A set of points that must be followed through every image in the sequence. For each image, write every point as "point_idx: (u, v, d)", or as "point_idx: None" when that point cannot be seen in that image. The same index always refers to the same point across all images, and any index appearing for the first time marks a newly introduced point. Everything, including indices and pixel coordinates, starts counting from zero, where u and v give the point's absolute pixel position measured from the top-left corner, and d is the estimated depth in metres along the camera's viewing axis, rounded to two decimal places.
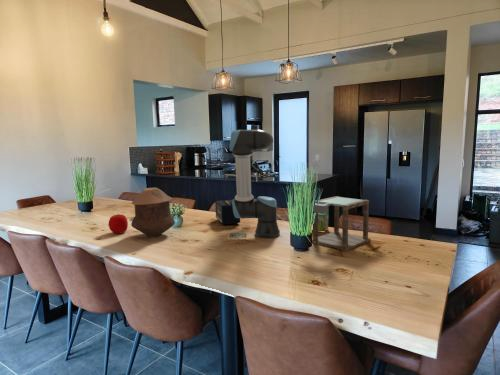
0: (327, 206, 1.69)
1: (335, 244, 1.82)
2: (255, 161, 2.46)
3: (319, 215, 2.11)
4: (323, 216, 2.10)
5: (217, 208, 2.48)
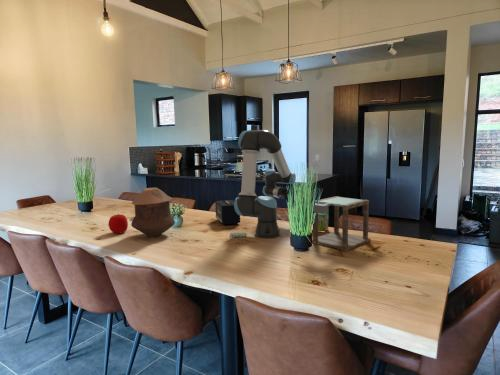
0: (327, 206, 1.69)
1: (335, 244, 1.82)
2: None
3: (319, 215, 2.11)
4: (323, 216, 2.10)
5: (217, 208, 2.48)
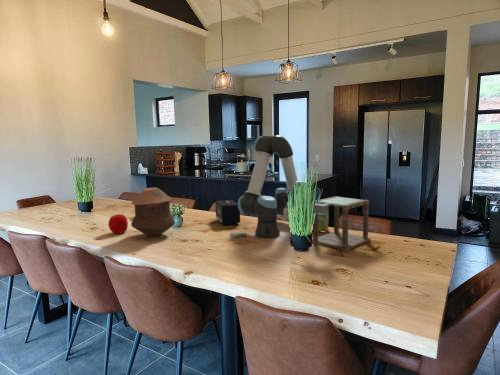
0: (327, 206, 1.69)
1: (335, 244, 1.82)
2: None
3: (319, 215, 2.11)
4: (323, 216, 2.10)
5: (217, 208, 2.48)
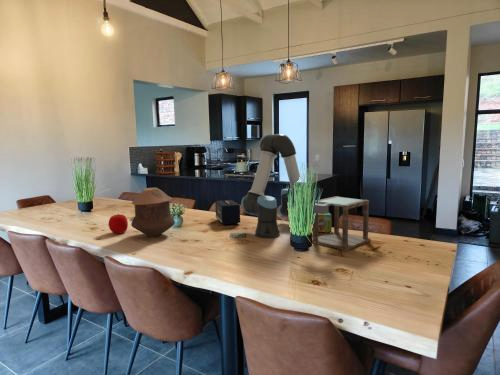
0: (327, 206, 1.69)
1: (335, 244, 1.82)
2: None
3: (326, 216, 2.09)
4: (330, 216, 2.09)
5: (217, 208, 2.47)
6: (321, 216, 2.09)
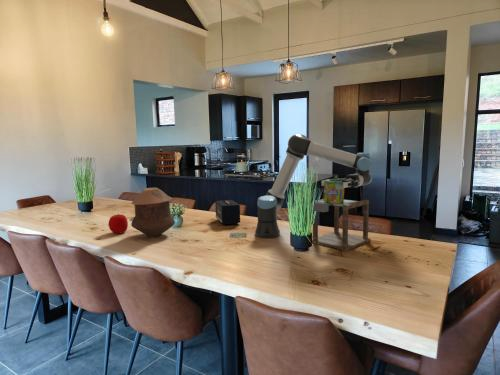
0: (327, 204, 1.69)
1: (335, 244, 1.82)
2: (358, 179, 1.88)
3: (326, 183, 1.82)
4: (327, 184, 1.79)
5: (217, 208, 2.48)
6: (325, 182, 1.85)
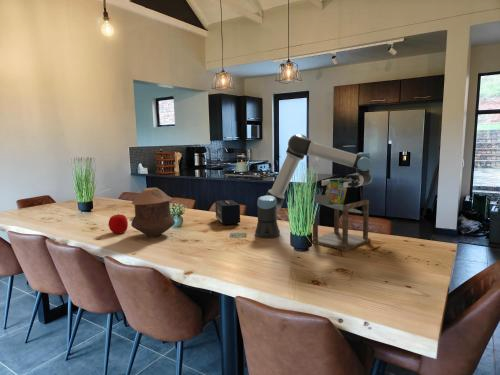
0: (328, 197, 1.69)
1: (335, 244, 1.82)
2: (359, 179, 1.88)
3: (329, 182, 1.84)
4: (331, 182, 1.81)
5: (217, 208, 2.48)
6: (328, 183, 1.87)
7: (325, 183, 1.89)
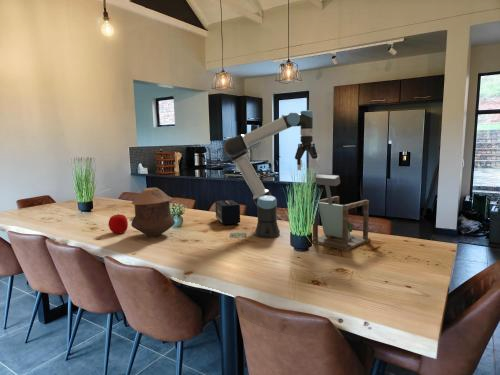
0: (339, 181, 1.74)
1: (335, 244, 1.82)
2: (298, 144, 2.12)
3: None
4: None
5: (217, 208, 2.48)
6: None
7: (313, 164, 2.21)
